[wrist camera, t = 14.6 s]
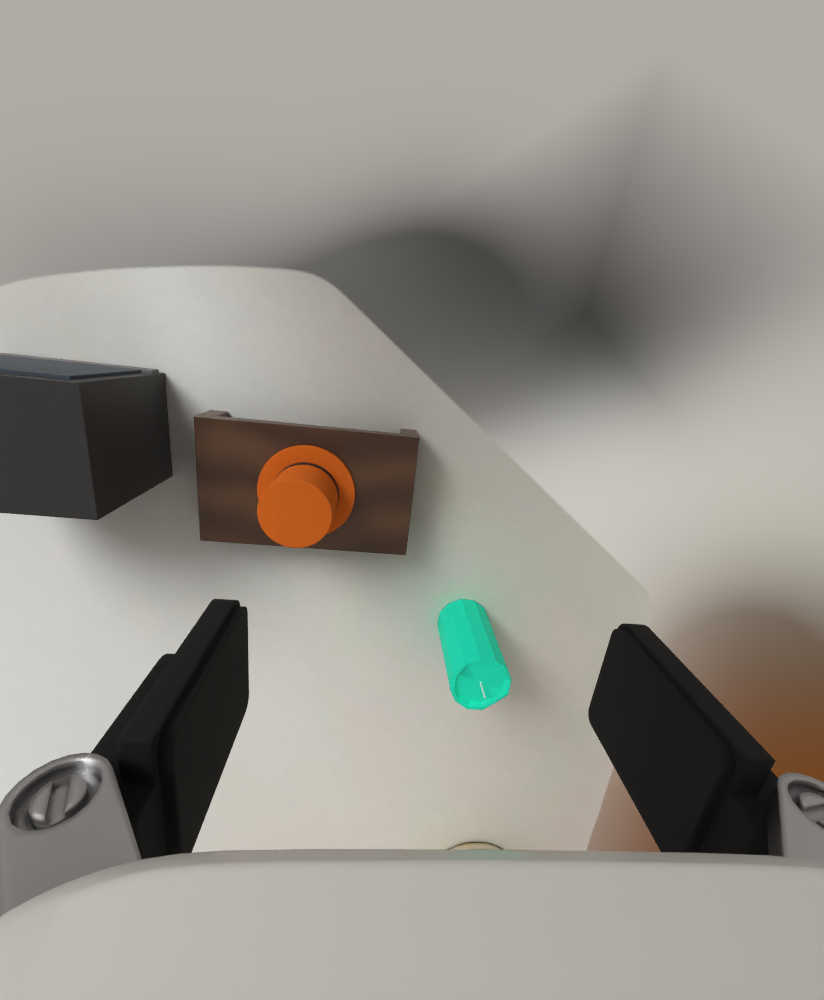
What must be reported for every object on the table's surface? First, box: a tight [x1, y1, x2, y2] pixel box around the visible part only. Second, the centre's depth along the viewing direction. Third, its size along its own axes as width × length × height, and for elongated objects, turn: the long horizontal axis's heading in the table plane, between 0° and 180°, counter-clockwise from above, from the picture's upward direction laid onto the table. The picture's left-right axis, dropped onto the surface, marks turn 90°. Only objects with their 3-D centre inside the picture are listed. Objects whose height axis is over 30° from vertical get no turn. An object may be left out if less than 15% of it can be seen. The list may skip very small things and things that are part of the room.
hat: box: [257, 445, 355, 548], centre depth 38 cm, size 9×9×6 cm
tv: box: [0, 353, 172, 520], centre depth 36 cm, size 10×14×12 cm
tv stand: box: [194, 410, 419, 555], centre depth 43 cm, size 12×20×4 cm, turn 84°
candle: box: [438, 599, 511, 710], centre depth 46 cm, size 6×6×12 cm
